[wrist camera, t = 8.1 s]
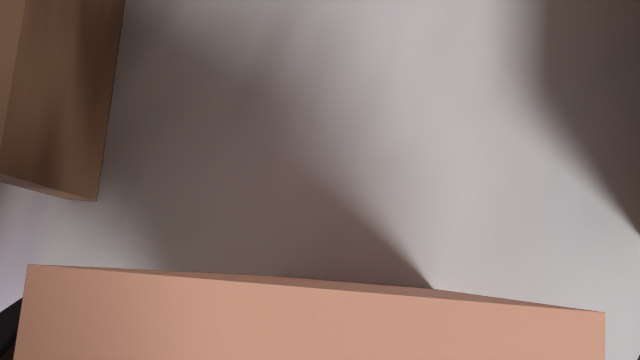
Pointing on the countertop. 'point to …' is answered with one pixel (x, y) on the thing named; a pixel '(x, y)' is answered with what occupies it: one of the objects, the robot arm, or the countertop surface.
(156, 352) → the block
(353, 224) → the countertop surface
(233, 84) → the countertop surface
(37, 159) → the brown u-shaped piece
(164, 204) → the countertop surface
